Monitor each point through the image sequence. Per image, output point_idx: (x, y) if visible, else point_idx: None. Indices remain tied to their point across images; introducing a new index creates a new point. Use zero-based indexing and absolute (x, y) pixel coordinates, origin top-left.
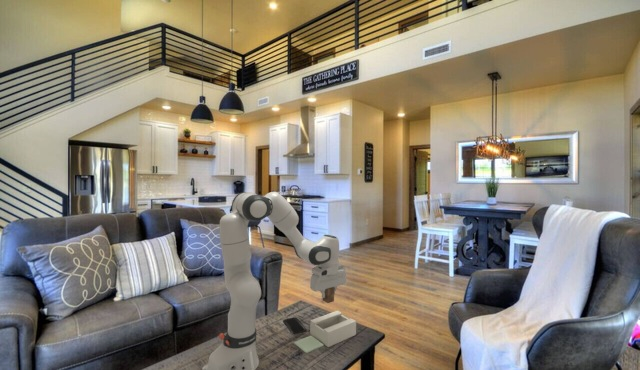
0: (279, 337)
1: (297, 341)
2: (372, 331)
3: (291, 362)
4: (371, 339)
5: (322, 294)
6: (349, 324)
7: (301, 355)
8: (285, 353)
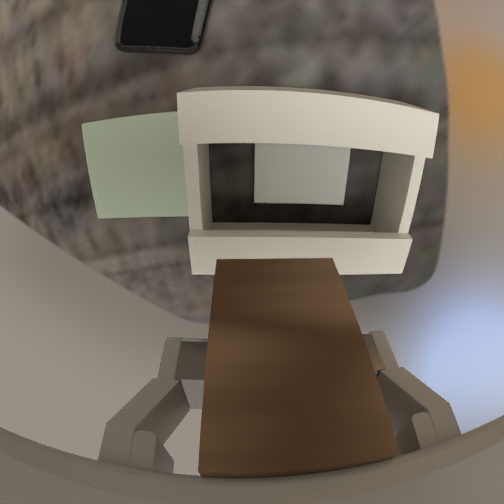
0: (56, 48)
1: (96, 127)
2: (435, 255)
3: (44, 228)
4: (385, 287)
5: (163, 378)
6: (353, 272)
7: (81, 214)
8: (37, 172)
